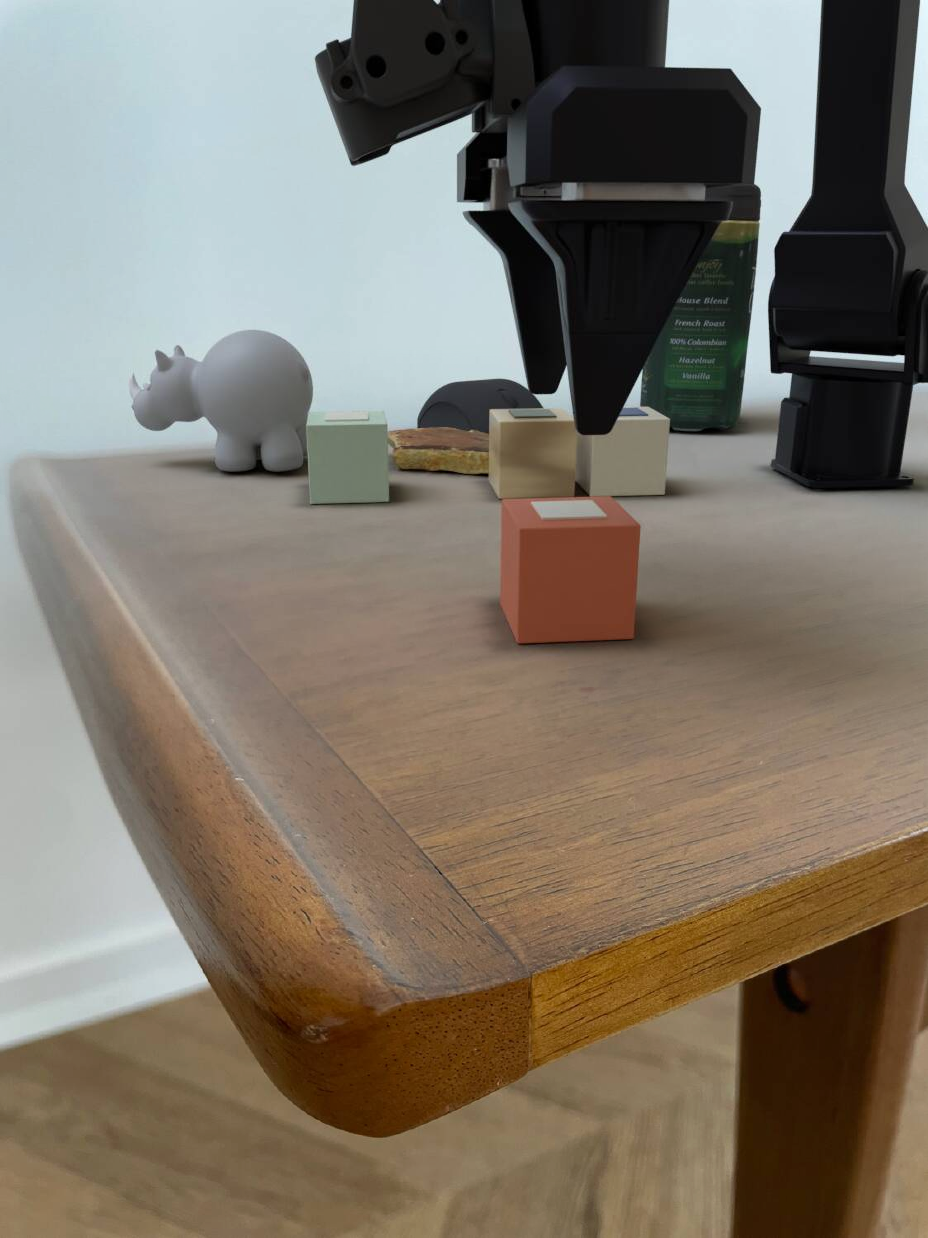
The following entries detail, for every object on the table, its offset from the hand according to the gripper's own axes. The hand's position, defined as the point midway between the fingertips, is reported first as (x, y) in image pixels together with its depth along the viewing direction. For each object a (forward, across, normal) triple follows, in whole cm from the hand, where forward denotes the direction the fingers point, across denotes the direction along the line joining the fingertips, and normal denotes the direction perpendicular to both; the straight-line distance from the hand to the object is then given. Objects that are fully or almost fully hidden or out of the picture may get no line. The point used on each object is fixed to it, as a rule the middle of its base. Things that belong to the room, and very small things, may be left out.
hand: (564, 411), depth 38 cm
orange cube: (+8, 0, 0) cm, 8 cm away
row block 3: (+8, -22, +8) cm, 24 cm away
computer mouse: (+8, -40, +2) cm, 40 cm away
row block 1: (+8, -22, -8) cm, 24 cm away
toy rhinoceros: (+8, -30, -16) cm, 35 cm away
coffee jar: (+8, -43, +19) cm, 47 cm away
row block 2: (+8, -22, +3) cm, 23 cm away
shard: (+8, -30, 0) cm, 31 cm away
